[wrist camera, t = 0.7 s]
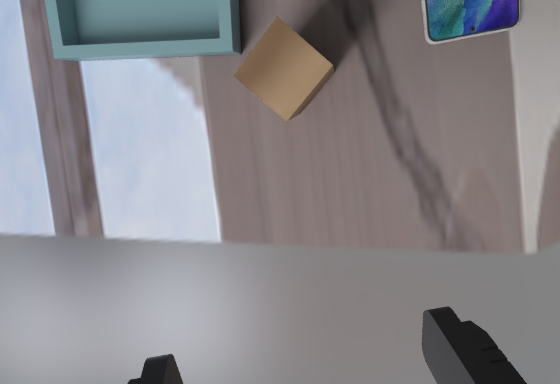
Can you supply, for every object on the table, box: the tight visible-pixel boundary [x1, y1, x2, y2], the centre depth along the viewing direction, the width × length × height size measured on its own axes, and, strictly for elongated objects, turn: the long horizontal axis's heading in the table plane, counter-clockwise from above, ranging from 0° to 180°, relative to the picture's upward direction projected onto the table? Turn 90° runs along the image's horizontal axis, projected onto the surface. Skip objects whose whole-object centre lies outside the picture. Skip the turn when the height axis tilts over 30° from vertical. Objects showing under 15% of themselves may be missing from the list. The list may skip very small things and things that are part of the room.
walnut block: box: [234, 16, 334, 121], centre depth 29 cm, size 4×4×10 cm
